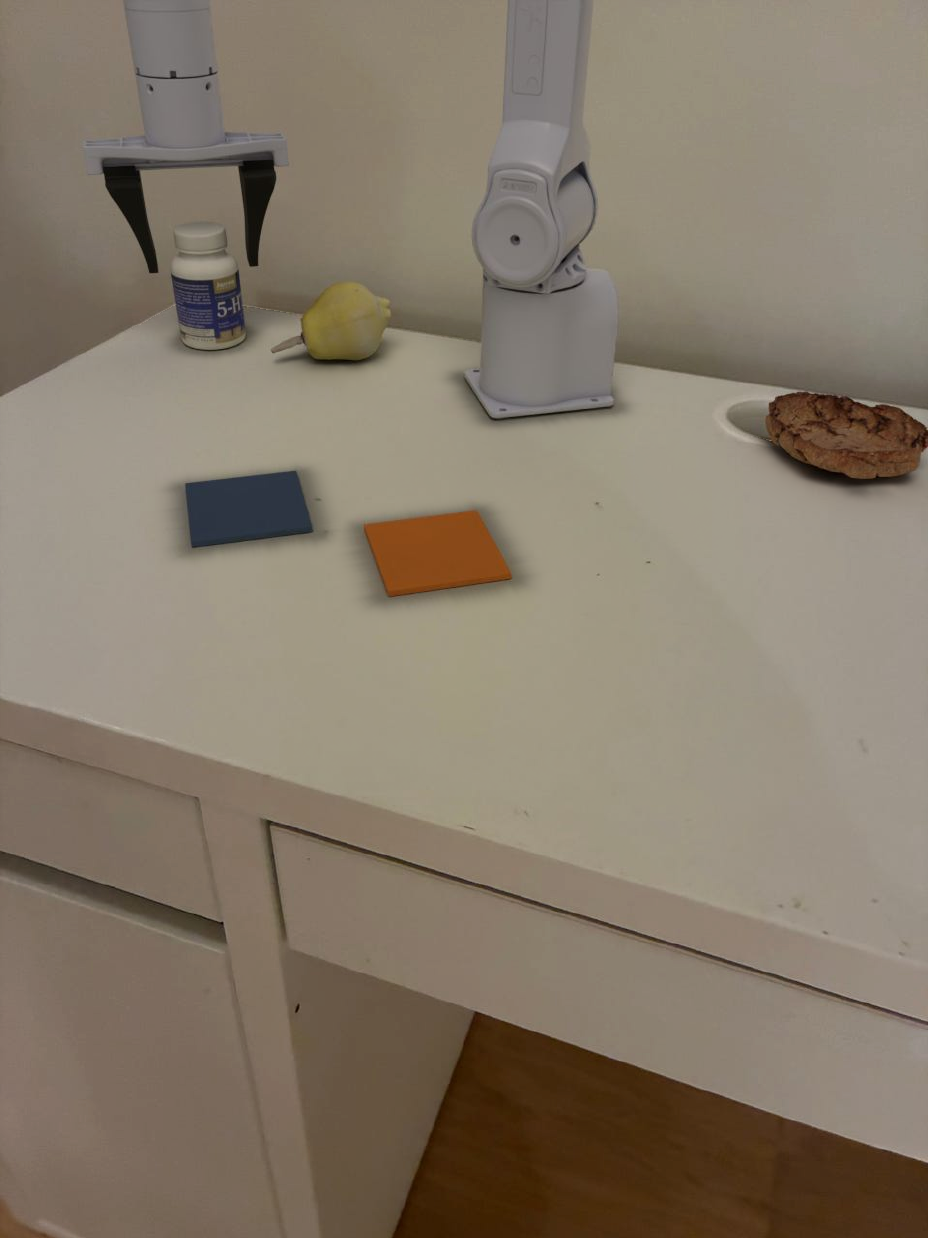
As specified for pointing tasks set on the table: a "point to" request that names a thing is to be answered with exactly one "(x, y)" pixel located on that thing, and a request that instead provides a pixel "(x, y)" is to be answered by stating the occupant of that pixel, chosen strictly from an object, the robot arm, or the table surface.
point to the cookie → (846, 434)
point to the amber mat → (435, 553)
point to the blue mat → (246, 508)
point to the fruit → (342, 323)
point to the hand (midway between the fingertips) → (203, 265)
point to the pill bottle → (206, 287)
